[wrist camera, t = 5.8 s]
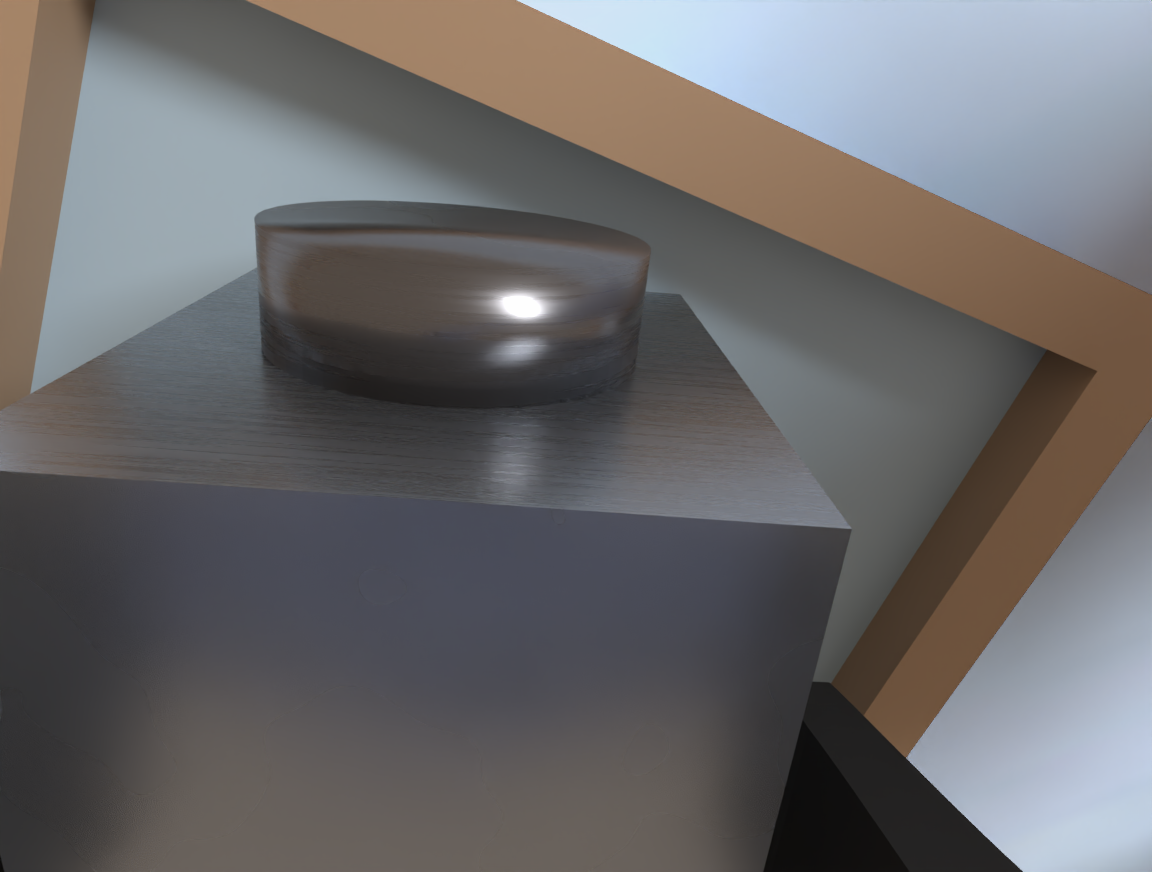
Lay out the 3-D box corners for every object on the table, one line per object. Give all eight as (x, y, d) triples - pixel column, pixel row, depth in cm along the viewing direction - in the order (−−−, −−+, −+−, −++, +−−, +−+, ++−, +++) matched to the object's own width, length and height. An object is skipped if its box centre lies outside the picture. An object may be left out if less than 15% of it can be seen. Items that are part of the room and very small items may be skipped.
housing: (609, 778, 13) (658, 1277, 7) (296, 764, 13) (105, 1278, 7) (692, 213, 10) (896, 357, 4) (268, 171, 9) (-144, 270, 4)
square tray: (1063, 275, 12) (1217, 326, 9) (675, 888, 17) (701, 1042, 14) (119, -157, 10) (-52, -264, 7) (-23, 705, 14) (-158, 847, 12)
